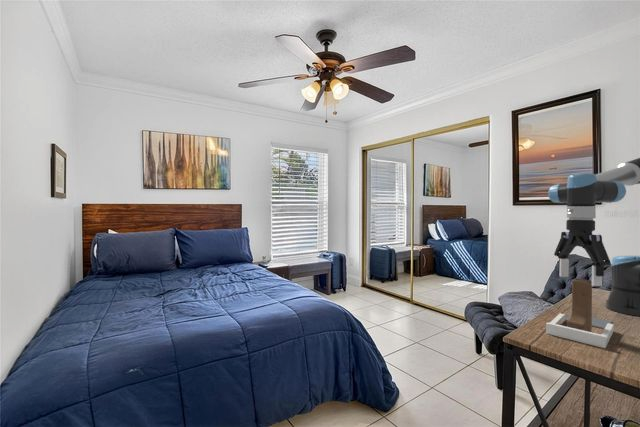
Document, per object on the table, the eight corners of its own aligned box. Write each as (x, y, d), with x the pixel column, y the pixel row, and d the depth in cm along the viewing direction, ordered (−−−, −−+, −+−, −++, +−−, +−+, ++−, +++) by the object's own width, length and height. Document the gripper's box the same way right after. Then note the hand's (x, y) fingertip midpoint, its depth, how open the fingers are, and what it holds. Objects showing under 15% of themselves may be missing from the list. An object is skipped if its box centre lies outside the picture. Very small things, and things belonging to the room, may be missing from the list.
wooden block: (583, 338, 101) (584, 284, 101) (566, 334, 105) (567, 281, 104) (591, 332, 106) (592, 280, 106) (575, 328, 110) (576, 278, 109)
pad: (571, 313, 124) (571, 312, 124) (611, 322, 115) (611, 321, 115) (564, 320, 117) (564, 319, 117) (607, 329, 108) (607, 328, 108)
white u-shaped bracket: (559, 319, 118) (559, 310, 118) (613, 331, 107) (613, 321, 106) (546, 333, 105) (546, 323, 105) (605, 348, 94) (605, 337, 94)
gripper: (543, 218, 117) (542, 273, 117) (602, 220, 92) (600, 290, 93) (563, 218, 117) (562, 273, 117) (627, 220, 92) (626, 290, 92)
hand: (579, 281), depth 105 cm, fingers open, 13 cm apart
